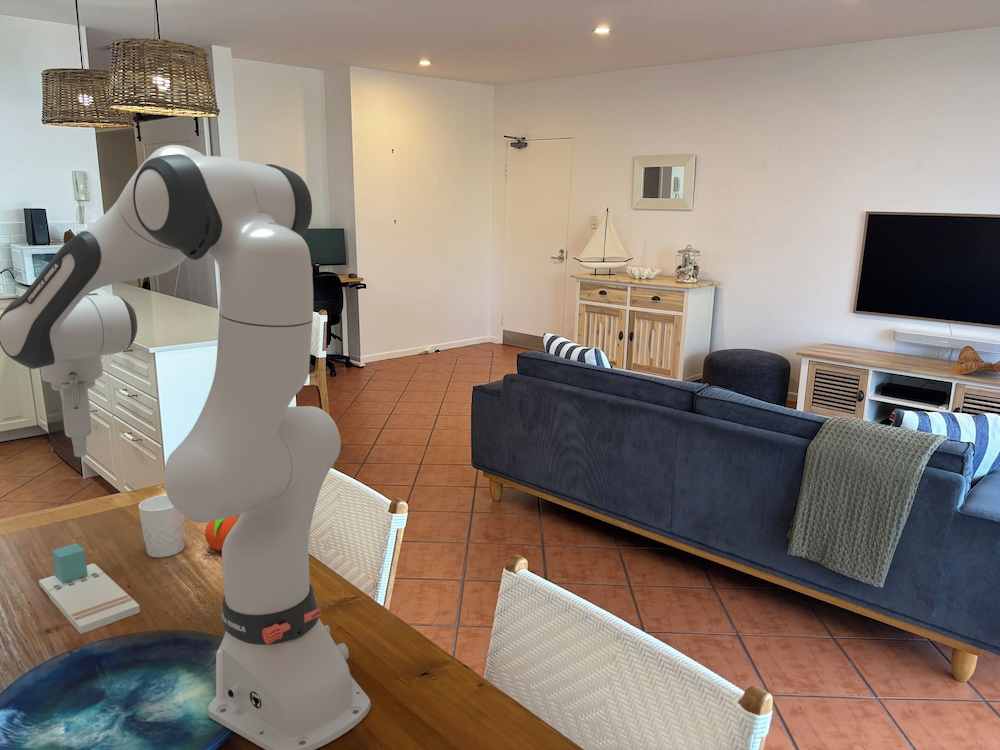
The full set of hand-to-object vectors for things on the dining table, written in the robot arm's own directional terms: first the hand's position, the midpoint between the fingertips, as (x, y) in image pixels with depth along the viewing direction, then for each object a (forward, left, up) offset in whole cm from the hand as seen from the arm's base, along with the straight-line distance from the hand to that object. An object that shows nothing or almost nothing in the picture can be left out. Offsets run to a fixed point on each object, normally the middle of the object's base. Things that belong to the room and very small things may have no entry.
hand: (79, 446), depth 124 cm
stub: (+4, +2, -26) cm, 26 cm away
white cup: (+6, -15, -26) cm, 30 cm away
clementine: (-2, -23, -26) cm, 35 cm away
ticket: (-6, +2, -26) cm, 27 cm away
